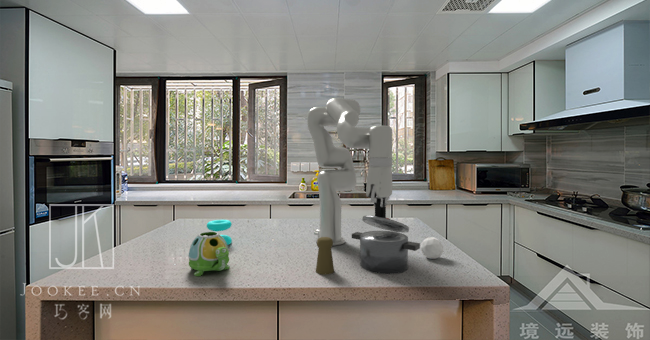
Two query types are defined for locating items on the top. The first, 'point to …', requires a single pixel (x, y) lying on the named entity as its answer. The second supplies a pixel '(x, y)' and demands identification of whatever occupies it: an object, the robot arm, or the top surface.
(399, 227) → the lid
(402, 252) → the pot
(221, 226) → the turquoise spool shape
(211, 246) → the turtle holder
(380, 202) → the robot arm
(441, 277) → the top surface
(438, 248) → the geometric ball
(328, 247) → the cork
